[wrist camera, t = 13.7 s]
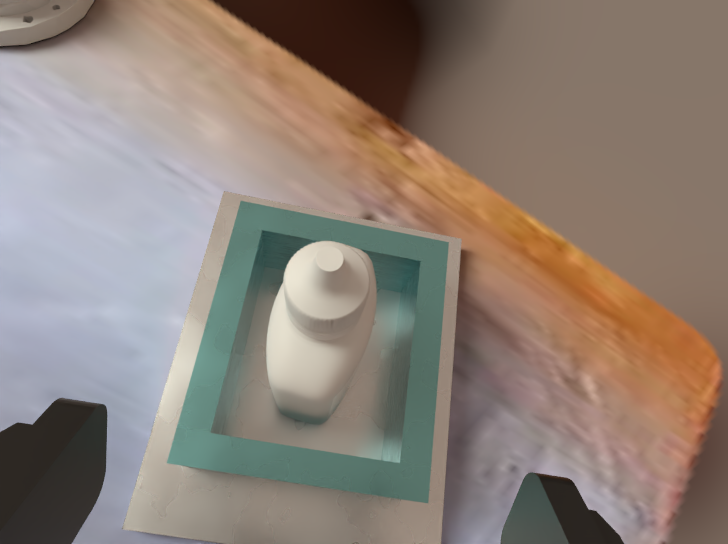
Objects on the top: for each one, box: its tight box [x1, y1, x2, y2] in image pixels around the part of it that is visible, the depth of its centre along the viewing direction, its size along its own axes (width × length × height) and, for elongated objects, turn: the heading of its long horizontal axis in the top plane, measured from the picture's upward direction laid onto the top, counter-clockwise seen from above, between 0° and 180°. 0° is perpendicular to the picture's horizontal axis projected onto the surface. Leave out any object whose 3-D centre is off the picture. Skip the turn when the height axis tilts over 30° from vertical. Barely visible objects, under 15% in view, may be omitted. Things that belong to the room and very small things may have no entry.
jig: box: [122, 191, 461, 544], centre depth 22 cm, size 16×13×5 cm
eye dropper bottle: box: [266, 241, 377, 424], centre depth 18 cm, size 4×6×12 cm
